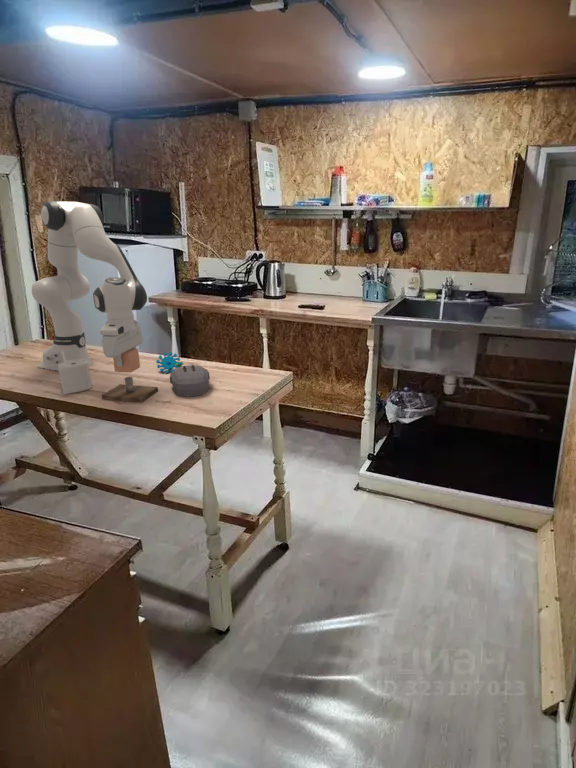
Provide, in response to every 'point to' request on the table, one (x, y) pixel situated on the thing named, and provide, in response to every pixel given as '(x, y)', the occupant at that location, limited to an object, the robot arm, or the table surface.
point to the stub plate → (130, 392)
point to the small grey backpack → (190, 380)
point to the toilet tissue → (74, 375)
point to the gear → (169, 362)
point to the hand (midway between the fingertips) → (126, 362)
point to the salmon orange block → (128, 361)
